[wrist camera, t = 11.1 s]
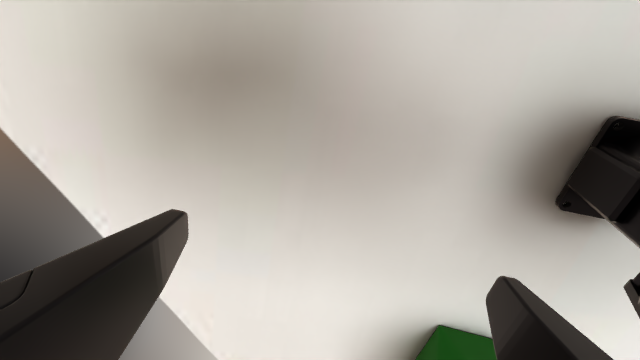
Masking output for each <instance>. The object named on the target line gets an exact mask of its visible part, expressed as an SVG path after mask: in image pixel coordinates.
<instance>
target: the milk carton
mask: <svg viewBox="0 0 640 360" xmlns="http://www.w3.org/2000/svg"><path fill="white" fill-rule="evenodd" d="M415 360H497V358H496V354H495V349H494V344H493V339H490V338H486V337H482V336H479V335H475V334H471V333H467V332H463V331H459V330H456V329H452V328H448V327H444V326H440V325H439V326H438V327H437V329H436V330H435V332H434V333H433V335H432V336H431V338H430V339H429V340H428V342H427V343H426V345H425V346H424V348H423V349H422V351H421V352H420V354H419V355H418V357H417V358H416V359H415Z"/></svg>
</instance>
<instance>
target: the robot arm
mask: <svg viewBox="0 0 640 360" xmlns="http://www.w3.org/2000/svg"><path fill="white" fill-rule="evenodd" d="M617 123H619V125H618V126H617V127H616V128H614V126H615V125H616V124H617ZM566 201H568V202H567V203H566V204H563V203H564V202H566ZM555 203H556V205H557V207H558V208H559V209H560V210H563V211H568V212H573V213H578V214H583V215H588V216H593V217H598V218H603V219H606V220H607V221H609V222H610V223H611V224H612V225H613V226H614V227H616V228H617V229H618V230H619V231H620V232H621V233H623V234H624V235H625V236H626V237H627V238H628V239H629V240H631V241H632V242H633V243H634V244H635V245H636V246H638V247H639V248H640V120H636V119H631V118H626V117H621V116H615V117H612V118H610V119H608V120H607V122H606V123H605V124H604V126H603V127H602V129H601V131H600V132H599V134H598V135H597V137H596V138H595V140H594V142H593V143H592V145H591V146H590V148H589V149H588V151H587V153H586V154H585V156H584V157H583V159H582V160H581V162H580V164H579V165H578V167H577V168H576V170H575V171H574V173H573V174H572V176H571V178H570V179H569V181H568V182H567V184H566V185H565V187H564V189H563V190H562V192H561V193H560V195H559V196H558V198H557V200H556V202H555ZM187 240H188V216H187V213H186V212H184V211H180V210H175V209H171V210H169V211H166V212H164V213H162V214H159V215H157V216H155V217H152V218H150V219H148V220H145V221H143V222H141V223H138V224H136V225H134V226H131V227H129V228H127V229H124V230H122V231H120V232H117V233H115V234H113V235H110V236H108V237H106V238H103V239H101V240H99V241H97V242H94V243H92V244H89V245H87V246H85V247H82V248H80V249H78V250H75V251H73V252H71V253H68V254H66V255H64V256H61V257H59V258H57V259H54V260H52V261H50V262H47V263H45V264H43V265H41V266H38V267H36V268H34V269H33V270H29V271H26V272H24V273H21V274H19V275H17V276H15V277H12V278H10V279H7V280H5V281H2V282H0V360H118V359H119V358H120V356H121V355H122V353H123V351H124V350H125V348H126V347H127V345H128V343H129V342H130V340H131V339H132V337H133V336H134V334H135V333H136V331H137V330H138V328H139V326H140V325H141V323H142V322H143V320H144V319H145V317H146V316H147V314H148V312H149V311H150V309H151V308H152V306H153V305H154V303H155V301H156V300H157V298H158V297H159V295H160V294H161V292H162V290H163V289H164V287H165V285H166V283H167V281H168V279H169V277H170V275H171V273H172V271H173V269H174V267H175V265H176V263H177V261H178V259H179V257H180V255H181V253H182V251H183V249H184V247H185V245H186V242H187ZM624 289H625V291H626V293H627V295H628V297H629V299H630V301H631V303H632V305H633V306H634V308H635V310H636V312H637V314H638V316H639V318H640V273H639V274H638V275H637V276H636V277H635V278H634V279H630V280H629V281H628V282H627V283H626V284H625V285H624ZM486 307H487V312H488V317H489V323H490V328H491V333H492V339H493V344H494V349H495V354H496V358H497V360H613V359H612V358H611V357H610V356H609V355H607V354H606V353H605V352H604V351H603V350H601V349H600V348H599V347H598V346H597V345H595V344H594V343H593V342H592V341H590V340H589V339H588V338H587V337H586V336H584V335H583V334H582V333H581V332H580V331H578V330H577V329H576V328H575V327H574V326H572V325H571V324H570V323H569V322H568V321H566V320H565V319H564V318H563V317H562V316H560V315H559V314H558V313H557V312H556V311H554V310H553V309H552V308H551V307H550V306H548V305H547V304H546V303H545V302H544V301H542V300H541V299H540V298H539V297H538V296H536V295H535V294H534V293H533V292H532V291H530V290H529V289H528V288H527V287H526V286H524V285H523V284H522V283H521V282H520V281H518V280H517V279H515V278H510V277H506V276H500V277H499V278H497V280H496V281H495V283H494V285H493V286H492V288H491V290H490V291H489V293H488V294H487V297H486Z"/></svg>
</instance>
